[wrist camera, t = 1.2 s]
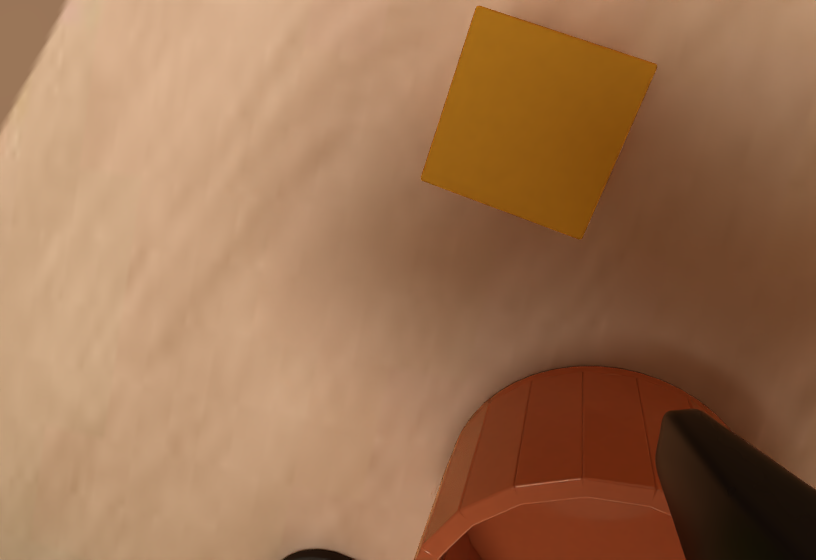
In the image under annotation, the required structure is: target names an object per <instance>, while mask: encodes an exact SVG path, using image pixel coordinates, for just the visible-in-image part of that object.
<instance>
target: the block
mask: <svg viewBox="0 0 816 560" xmlns="http://www.w3.org/2000/svg"><path fill="white" fill-rule="evenodd" d="M656 69H657V65H656V64H655V63H652V62H649V61H646V60H643V59H640V58H637V57H634V56H631V55H628V54H625V53H622V52H619V51H616V50H613V49H610V48H607V47H603V46H600V45H597V44H594V43H591V42H588V41H585V40H582V39H579V38H576V37H573V36H570V35H567V34H564V33H561V32H558V31H555V30H552V29H549V28H546V27H543V26H540V25H537V24H534V23H531V22H528V21H525V20H522V19H519V18H516V17H513V16H510V15H507V14H504V13H501V12H497V11H494V10H491V9H488V8H485V7H482V6H477V7H476V9H475V12H474V15H473V18H472V21H471V24H470V28H469V31H468V34H467V37H466V40H465V43H464V46H463V49H462V52H461V55H460V58H459V61H458V64H457V68H456V71H455V74H454V77H453V80H452V83H451V86H450V89H449V92H448V95H447V98H446V101H445V104H444V107H443V111H442V114H441V117H440V120H439V123H438V126H437V129H436V132H435V135H434V138H433V141H432V144H431V147H430V151H429V154H428V157H427V160H426V163H425V166H424V169H423V172H422V175H421V180H422V181H424V182H427V183H429V184H432V185H435V186H437V187H440V188H443V189H445V190H448V191H451V192H453V193H456V194H459V195H461V196H464V197H467V198H469V199H472V200H475V201H477V202H480V203H483V204H485V205H488V206H491V207H494V208H496V209H499V210H502V211H504V212H507V213H510V214H512V215H515V216H518V217H520V218H523V219H526V220H528V221H531V222H534V223H536V224H539V225H542V226H544V227H547V228H550V229H552V230H555V231H558V232H560V233H563V234H566V235H568V236H571V237H574V238H576V239H582V238H583V236H584V233H585V231H586V229H587V227H588V224H589V222H590V220H591V217H592V215H593V213H594V211H595V208H596V206H597V204H598V201H599V199H600V197H601V195H602V192H603V190H604V188H605V185H606V183H607V181H608V179H609V176H610V174H611V172H612V170H613V167H614V165H615V163H616V160H617V158H618V156H619V154H620V151H621V149H622V147H623V144H624V142H625V140H626V138H627V135H628V133H629V131H630V128H631V126H632V124H633V122H634V119H635V117H636V115H637V112H638V110H639V108H640V106H641V103H642V101H643V99H644V96H645V94H646V92H647V90H648V87H649V85H650V83H651V80H652V78H653V76H654V74H655V71H656Z"/></svg>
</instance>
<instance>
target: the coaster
mask: <svg viewBox="0 0 816 560" xmlns="http://www.w3.org/2000/svg"><path fill="white" fill-rule="evenodd" d="M284 560H351V559H349V558H347V557H345V556H342V555H340V554H337V553H333V552H329V551H323V550H307V551H301V552H298V553H295V554H292V555H290V556H289V557H287V558H285V559H284Z"/></svg>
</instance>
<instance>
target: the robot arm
mask: <svg viewBox="0 0 816 560" xmlns="http://www.w3.org/2000/svg"><path fill="white" fill-rule="evenodd" d="M655 463H656V469H657V474H658V477H659V480H660V483H661V486H662V489H663V492H664V495H665V498H666V501H667V504H668V507H669V510H670V513H671V516H672V519H673V522H674V525H675V528H676V531H677V534H678V537H679V540H680V543H681V546H682V549H683V552H684V555H685V558H686V560H816V490H815V489H814V488H812V487H811V486H809V485H808V484H807V483H805V482H804V481H802V480H801V479H799V478H798V477H797V476H795V475H794V474H792V473H791V472H789V471H788V470H786V469H785V468H784V467H782V466H781V465H779V464H778V463H776V462H775V461H773V460H772V459H771V458H769V457H768V456H766V455H765V454H763V453H762V452H761V451H759V450H758V449H756V448H755V447H753V446H752V445H750V444H749V443H748V442H746V441H745V440H743V439H742V438H740V437H739V436H738V435H736V434H735V433H733V432H732V431H730V430H729V429H727V428H726V427H725V426H723V425H722V424H720V423H719V422H717V421H716V420H715V419H713V418H712V417H710V416H709V415H707V414H706V413H704V412H703V411H701V410H698V409H683V410H673V411H668V412H666V413H665V415H664V416H663V419H662V423H661V428H660V433H659V438H658V444H657V449H656V455H655Z"/></svg>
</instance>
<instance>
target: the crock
mask: <svg viewBox="0 0 816 560" xmlns="http://www.w3.org/2000/svg"><path fill="white" fill-rule="evenodd" d="M683 409H698V410H701V411H703V412H704V413H706V414H707V415H709V416H710V417H712V418H713V419H715V420H716V421H717V422H719V423H720V424H722V425H723V426H725V427H726V428H727V429H729V430H730V431H731V429H730V428H729V427H728V426H727V425H726V424H725V423H724V422H723V421H722V420H721V419H720V418H719V417H718V416H717V415H716V414H715V413H714V412H713V411H711V410H710V409H709V408H708V407H706V406H705V405H704V404H703V403H702V402H700V401H699V400H697V399H696V398H694V397H692V396H691V395H689V394H688V393H686V392H684V391H683V390H681V389H679V388H677V387H675V386H673V385H671V384H669V383H666V382H664V381H662V380H660V379H657V378H654V377H651V376H648V375H645V374H642V373H639V372H634V371H629V370H624V369H619V368H611V367H600V366H576V367H567V368H560V369H553V370H550V371H546V372H542V373H539V374H535V375H532V376H530V377H527V378H525V379H522V380H520V381H517V382H515V383H513V384H512V385H510V386H508V387H506V388H505V389H503V390H501V391H499V392H498V393H497V394H495V395H494V396H493V397H492V398H490V399H489V400H488V401H486V402H485V403H484V404H483V405H482V406H481V407H480V408H479V409H478V410H477V411H476V412H475V413H474V414H473V415H472V417H471V418H470V420H469V421H468V422H467V424H466V425H465V427H464V428H463V430H462V432H461V434H460V435H459V438H458V440H457V442H456V444H455V446H454V449H453V452H452V455H451V457H450V459H449V462H448V464H447V467H446V469H445V472H444V475H443V478H442V481H441V483H440V486H439V489H438V492H437V495H436V498H435V500H434V503H433V506H432V509H431V512H430V515H429V517H428V520H427V523H426V526H425V529H424V532H423V535H422V537H421V540H420V543H419V546H418V549H417V552H416V554H415V557H414V560H686V558H685V555H684V552H683V549H682V546H681V543H680V540H679V537H678V534H677V531H676V528H675V525H674V522H673V519H672V516H671V513H670V510H669V507H668V504H667V501H666V498H665V495H664V492H663V489H662V486H661V483H660V480H659V477H658V474H657V469H656V463H655V455H656V449H657V444H658V438H659V433H660V428H661V423H662V419H663V416H664V415H665V413H666V412H668V411H673V410H683Z"/></svg>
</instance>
